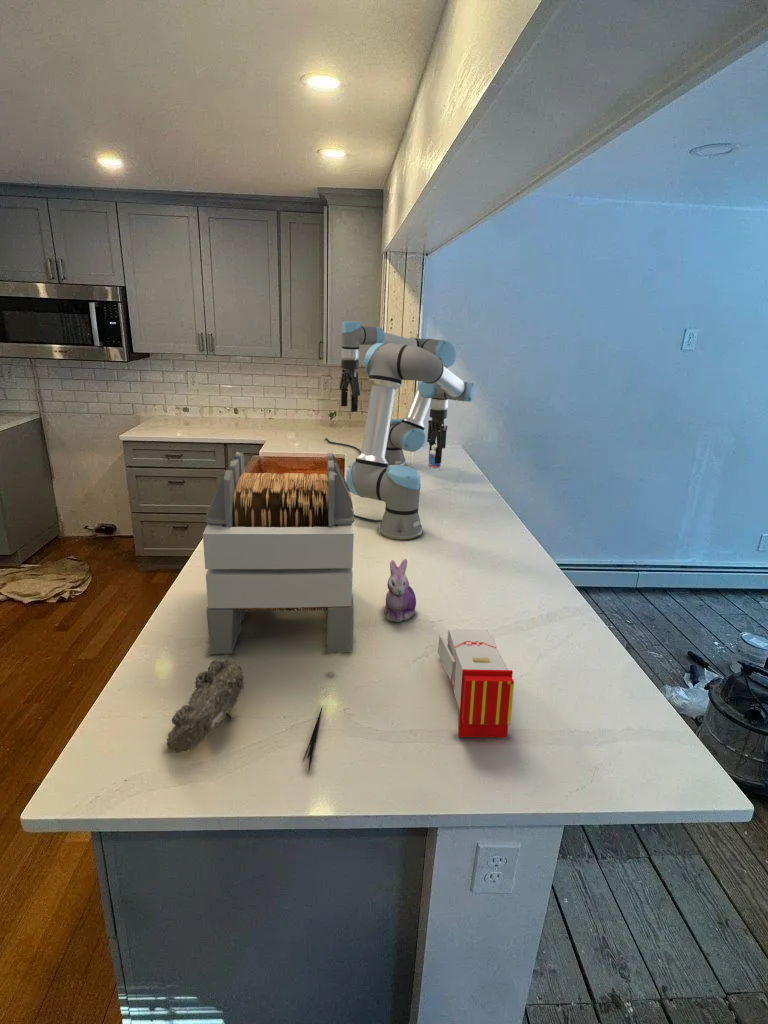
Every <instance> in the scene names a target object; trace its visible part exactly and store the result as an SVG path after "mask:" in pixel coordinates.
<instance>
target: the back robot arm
mask: <svg viewBox="0 0 768 1024" xmlns="http://www.w3.org/2000/svg"><path fill="white" fill-rule="evenodd" d="M341 324H342V325H341V332H340V333H341V349H340V350H341V351H340V358H341V360H340V362H341V363H340V364H341V366H340V367H341V377H340V383H339V390H340V407H348V393H349V389H348V388H349V387H350V391H351V394H350V412H351V413H355V412H358V410H359V409H358V405H359V396H361V391H360V383H359V372H356V370H358V369H360V368H359V367H360V360H359V359H360V354H361V351H360V346H366V347H367V346H368V347H372V345H374V344H376V343H393V344H402V345H414V346H418V347H420V348H423V349H425V350H427V351H429V352H431V353H432V354H434V355H435V356H437V357H438V358H439V359H440V360H441V361H442V362H443V365H444V367H446V368H447V369H448V368H450V367H452V366H453V365H454V364H455V362H456V360H457V349H456V346H455V345H454V343H452V342H451V341H449V340H445V339H434V338H418V337H413V336H411V337H409V338H408V337H404V336H401V335H396V334H392V333H389V332H385V330H384V329H383V328H382V327H381V326H369V325H368V326H367V325H361V322H360V321H356V320H355V321H353V320H343V322H342V323H341ZM421 382H422V381H418V385H417V387H416V390H415V393H414V394H413V398H412V400H411V404H410V406H409V408H408V412H407V414H406V415H405V417H402V418H391V423H390V429H389V435H388V441H387V447H386V453H385V459H386V460H387V462H388V467H389V466H391V465H403V466H406V458H405V454H404V451H406V452H409V453H414V452H417V451H419V450H420V449H421V448H423V446H424V445H425V442H426V433H425V432H424V431H425V428H426V427H425V424H424V422H425V419H426V416H427V414H428V411H429V410H430V402H431V398H424V397H422V396H421V395H420V393H419V391H418V387H419V384H420V383H421ZM324 441H326V442H327V443H329V444H334V445H339V446H345V447H348V448H349V447H350V448H353V449H355V450H356V451H358V452H359V455H360V454H361V449H360V448H358V447H357V446H353V445H351V444H347V443H342V442H335V441H331V440H329V438H327V437H325V438H324ZM388 467H387V468H388Z"/></svg>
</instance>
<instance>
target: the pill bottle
mask: <svg viewBox="0 0 768 1024" xmlns="http://www.w3.org/2000/svg"><path fill="white" fill-rule="evenodd" d="M436 448H437V444H436V445H432V448H431V449H432V450H430V452H429V451H428V466H427V467H428V468H429V469H433V470H438V469H440V468H441V465H442V462H441V463H435V454H436Z"/></svg>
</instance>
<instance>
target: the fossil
mask: <svg viewBox="0 0 768 1024" xmlns="http://www.w3.org/2000/svg"><path fill="white" fill-rule="evenodd" d="M243 670H244V669H243V667H242V665H240V664H237V662H236V661H235V660H234V659H232V658H231V659H227V658H226V659H224V660H223V661H222V660H217V659H212V660H211V661H210V663H209V665H208V666H207V671H201V672H199V673H198V674H197V675H196V676H195V680H194V684H195V685H194V687H195V689H194V690H193V693H192V694H191V697H190V698H189V700H188V704H184V705H182V706H181V707H180V709H177V710H176V711H175V713H174V715H173V716H172V718H171V723H172V724H173V727H172V730H171V731H170V732H168V734H167V738H166V741H167V742H166V745H167V749H168V750H169V751H173V752H174V753H176V754H178V753H182V752H188V751H189V752H192V751H193V750H195V748H196V747H197V746H199V744H200V743H201V742H203V741H204V740H205V739H206V738H207V737H208V736H209V735H210V734H211V733H212V732H214V730H215V729H217V727H218V726H219V724H220V722H221V721H222V720H223V719H224V718H225V716H226V717H227V719H229V720H233V717H232V715H230V714H229V710H230V709H231V708H234V706H235V704H236V703H237V702H238V699H239V697H240V695H241V693H242V691H243V690H245V689H244V688H245V675H244V671H243Z"/></svg>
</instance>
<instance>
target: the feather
mask: <svg viewBox="0 0 768 1024" xmlns="http://www.w3.org/2000/svg"><path fill="white" fill-rule="evenodd" d="M329 675H330V676H331V675H332V674H331V673H330V674H329ZM322 710H323V707H321V708H320V710H319V713H318V716H317V719H316V723H315V725H314V728H313V731H312V733H311V737H310V739H309V742H308V745H307V748H306V751H305V754H304V757H303V760H302V763H301V767H302V765H303V763H304V761H305V758H308V759H309V760H308V762H307V763H308V764H307V766H308V771H310V770H311V766H312V765H311V764H312V760H313V757H315V756H314V755H315V751H316V749H315V746H317V739H318V733H319V729H320V722H321V717H322V712H323V711H322ZM313 754H314V755H313ZM306 755H307V757H306Z"/></svg>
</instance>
